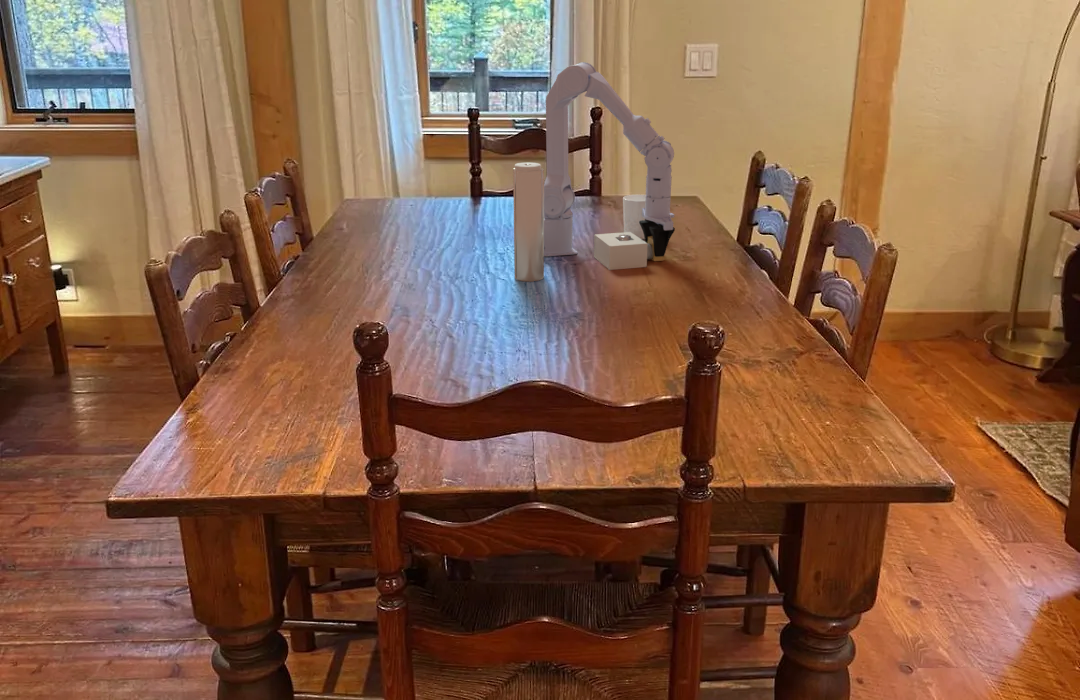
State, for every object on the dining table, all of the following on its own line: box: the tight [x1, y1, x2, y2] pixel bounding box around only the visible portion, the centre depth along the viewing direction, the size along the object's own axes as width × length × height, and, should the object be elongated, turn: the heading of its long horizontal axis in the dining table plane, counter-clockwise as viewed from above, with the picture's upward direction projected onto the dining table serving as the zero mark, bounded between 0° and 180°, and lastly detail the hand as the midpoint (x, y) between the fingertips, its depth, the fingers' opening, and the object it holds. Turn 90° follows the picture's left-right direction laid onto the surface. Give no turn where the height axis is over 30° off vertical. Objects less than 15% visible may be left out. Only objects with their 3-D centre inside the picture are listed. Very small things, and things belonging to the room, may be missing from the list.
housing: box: [593, 231, 648, 271], centre depth 217 cm, size 9×11×6 cm
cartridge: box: [647, 236, 665, 262], centre depth 219 cm, size 10×4×5 cm, turn 105°
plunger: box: [619, 235, 631, 241], centre depth 217 cm, size 3×3×2 cm
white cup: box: [622, 194, 646, 240], centre depth 239 cm, size 8×8×10 cm
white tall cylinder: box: [512, 161, 545, 283], centre depth 202 cm, size 6×6×25 cm
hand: (655, 253), depth 220 cm, fingers closed on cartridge, 4 cm apart
